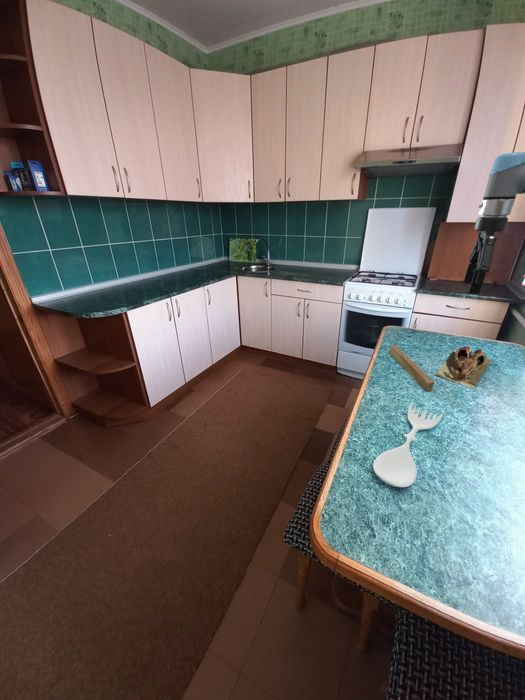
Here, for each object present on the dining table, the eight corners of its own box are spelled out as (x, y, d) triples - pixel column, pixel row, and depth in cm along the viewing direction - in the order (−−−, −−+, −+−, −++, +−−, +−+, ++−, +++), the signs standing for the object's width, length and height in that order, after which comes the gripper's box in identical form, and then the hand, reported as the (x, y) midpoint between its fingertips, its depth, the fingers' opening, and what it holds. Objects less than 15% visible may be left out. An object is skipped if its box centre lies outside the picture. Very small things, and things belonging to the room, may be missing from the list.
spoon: (441, 422, 83) (444, 413, 82) (406, 501, 62) (409, 490, 60) (408, 409, 89) (410, 400, 87) (365, 478, 67) (367, 467, 66)
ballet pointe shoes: (498, 345, 112) (486, 374, 94) (492, 360, 115) (478, 391, 97) (458, 335, 120) (439, 360, 102) (453, 349, 123) (434, 375, 105)
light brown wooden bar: (393, 352, 122) (395, 344, 120) (431, 391, 97) (434, 382, 95) (389, 352, 122) (390, 345, 120) (426, 391, 97) (428, 382, 95)
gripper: (471, 214, 96) (453, 278, 106) (485, 218, 76) (461, 297, 86) (499, 214, 93) (478, 280, 103) (520, 218, 73) (492, 300, 83)
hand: (470, 288), depth 94 cm, fingers open, 13 cm apart
